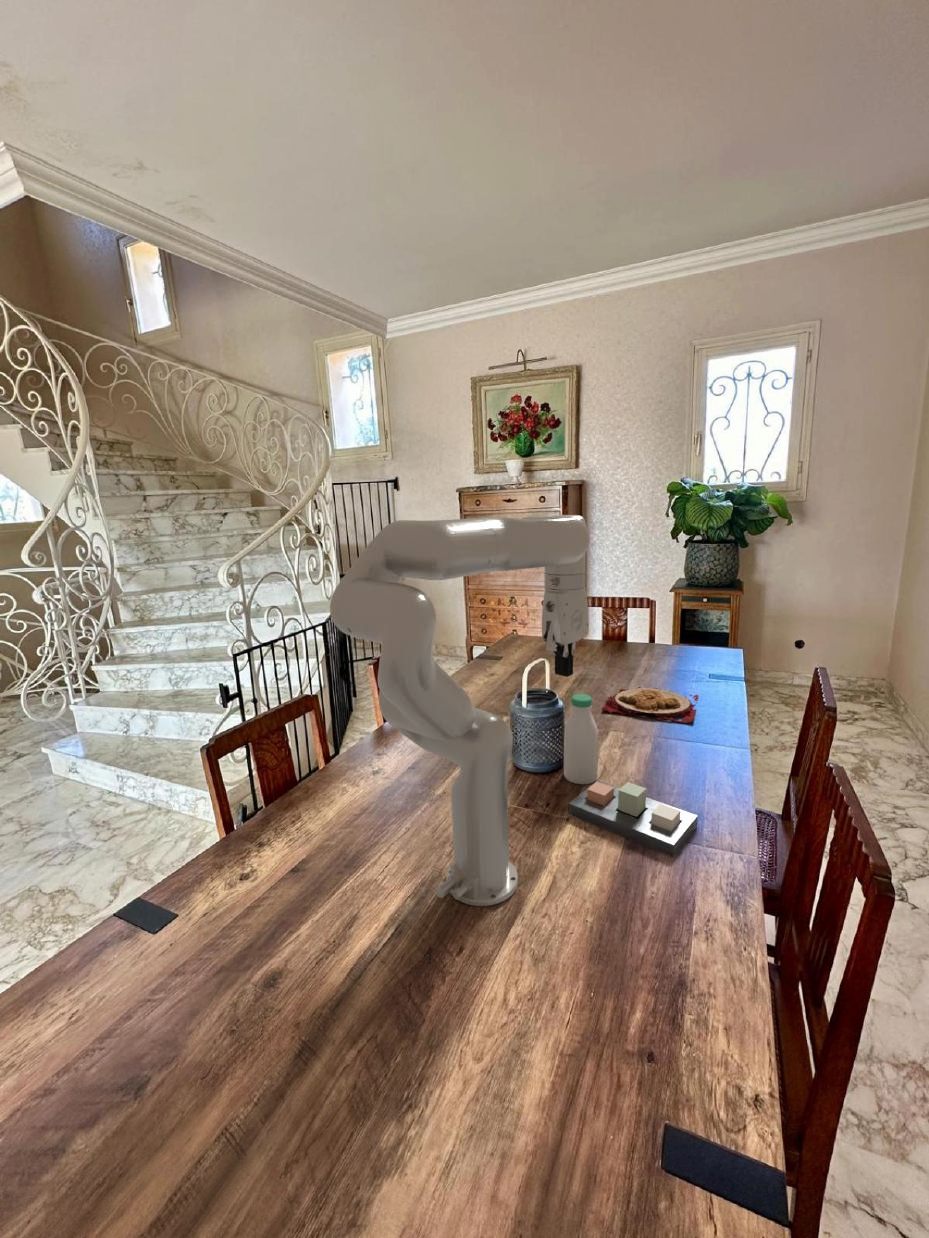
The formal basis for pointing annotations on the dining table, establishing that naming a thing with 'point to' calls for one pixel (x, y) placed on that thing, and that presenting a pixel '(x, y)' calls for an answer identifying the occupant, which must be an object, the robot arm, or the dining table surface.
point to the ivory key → (666, 818)
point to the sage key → (632, 799)
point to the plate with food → (652, 704)
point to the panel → (634, 822)
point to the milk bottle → (581, 742)
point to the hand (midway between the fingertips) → (563, 674)
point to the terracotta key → (600, 793)
